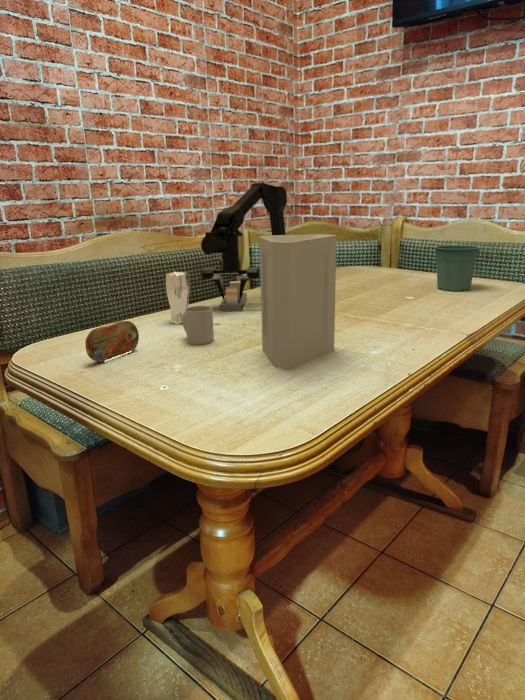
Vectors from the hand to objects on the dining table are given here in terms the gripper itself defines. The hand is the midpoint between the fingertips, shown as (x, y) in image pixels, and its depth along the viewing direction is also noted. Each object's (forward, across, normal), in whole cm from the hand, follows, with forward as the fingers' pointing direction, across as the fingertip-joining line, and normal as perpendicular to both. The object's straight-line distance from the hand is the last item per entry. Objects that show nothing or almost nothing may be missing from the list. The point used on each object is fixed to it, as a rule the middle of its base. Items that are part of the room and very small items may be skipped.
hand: (232, 298), depth 168 cm
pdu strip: (+4, 0, -5) cm, 6 cm away
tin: (+4, +24, +49) cm, 55 cm away
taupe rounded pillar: (+4, -19, +47) cm, 51 cm away
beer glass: (+4, +15, +15) cm, 21 cm away
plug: (+3, 0, 0) cm, 3 cm away
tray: (+4, -8, 0) cm, 9 cm away
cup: (+4, +6, +35) cm, 36 cm away
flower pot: (+4, -82, -34) cm, 89 cm away
